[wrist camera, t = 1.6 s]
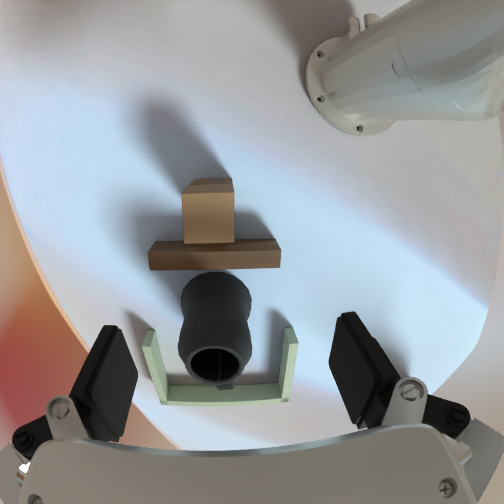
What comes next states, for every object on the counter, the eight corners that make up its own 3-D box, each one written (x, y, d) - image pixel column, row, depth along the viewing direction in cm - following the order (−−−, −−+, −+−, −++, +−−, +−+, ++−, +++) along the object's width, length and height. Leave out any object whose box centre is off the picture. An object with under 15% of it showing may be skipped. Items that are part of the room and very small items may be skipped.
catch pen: (147, 330, 35) (141, 346, 32) (292, 327, 37) (298, 343, 34) (164, 389, 40) (161, 404, 37) (284, 386, 42) (288, 401, 39)
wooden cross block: (150, 181, 28) (121, 197, 19) (277, 178, 29) (298, 193, 21) (157, 257, 31) (136, 297, 23) (274, 254, 32) (291, 294, 24)
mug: (173, 276, 32) (154, 335, 22) (247, 267, 33) (258, 324, 22) (193, 349, 37) (188, 411, 27) (256, 342, 37) (267, 404, 27)
